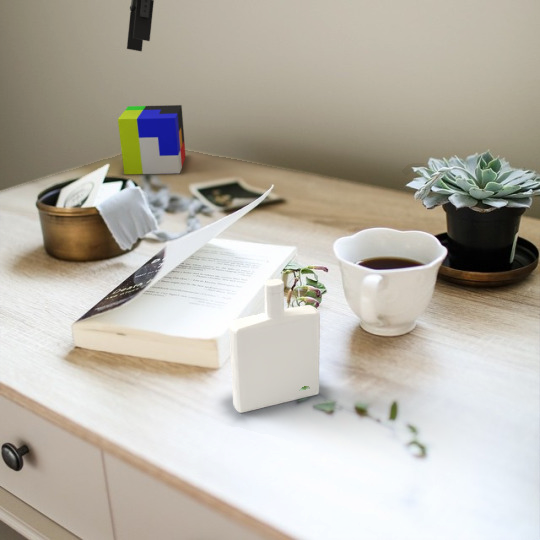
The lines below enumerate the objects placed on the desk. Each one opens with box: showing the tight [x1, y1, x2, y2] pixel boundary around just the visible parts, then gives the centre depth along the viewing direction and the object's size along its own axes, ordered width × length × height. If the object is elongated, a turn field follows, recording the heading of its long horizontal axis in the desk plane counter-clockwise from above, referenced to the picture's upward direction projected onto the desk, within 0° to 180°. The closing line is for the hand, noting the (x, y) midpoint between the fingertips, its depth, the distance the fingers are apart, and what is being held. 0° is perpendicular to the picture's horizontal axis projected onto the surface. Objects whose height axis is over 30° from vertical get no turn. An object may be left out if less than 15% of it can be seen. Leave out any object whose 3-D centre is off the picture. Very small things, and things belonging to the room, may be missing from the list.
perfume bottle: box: [228, 278, 321, 414], centre depth 59 cm, size 8×2×12 cm, turn 110°
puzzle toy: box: [117, 104, 187, 175], centre depth 123 cm, size 10×10×10 cm
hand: (137, 45), depth 118 cm, fingers open, 13 cm apart
